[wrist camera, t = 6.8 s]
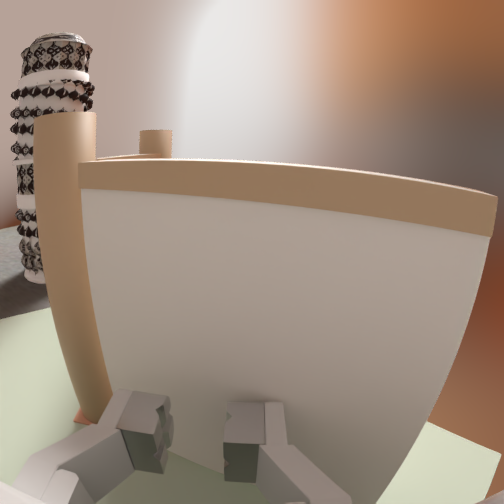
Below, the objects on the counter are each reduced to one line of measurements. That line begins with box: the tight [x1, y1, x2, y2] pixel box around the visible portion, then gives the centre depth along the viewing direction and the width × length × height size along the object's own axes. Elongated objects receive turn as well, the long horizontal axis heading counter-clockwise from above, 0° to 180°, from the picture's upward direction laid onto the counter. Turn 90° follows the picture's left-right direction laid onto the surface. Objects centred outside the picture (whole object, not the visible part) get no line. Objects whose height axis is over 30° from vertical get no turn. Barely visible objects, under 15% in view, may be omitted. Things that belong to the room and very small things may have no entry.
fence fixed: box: [33, 112, 172, 424], centre depth 18 cm, size 16×2×14 cm, turn 2°
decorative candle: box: [10, 32, 95, 284], centre depth 27 cm, size 9×9×25 cm
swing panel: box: [78, 159, 498, 504], centre depth 9 cm, size 11×1×11 cm, turn 67°
